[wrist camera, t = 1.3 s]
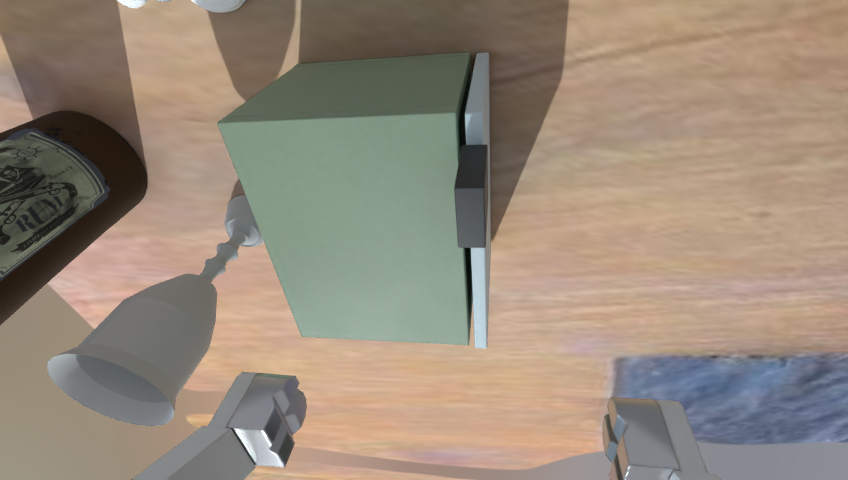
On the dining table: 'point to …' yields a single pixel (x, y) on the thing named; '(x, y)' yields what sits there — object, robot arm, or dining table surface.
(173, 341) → the chalice
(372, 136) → the cabinet
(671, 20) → the dining table surface
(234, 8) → the chess piece
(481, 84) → the sliding door
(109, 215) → the dark brown necked cylinder
